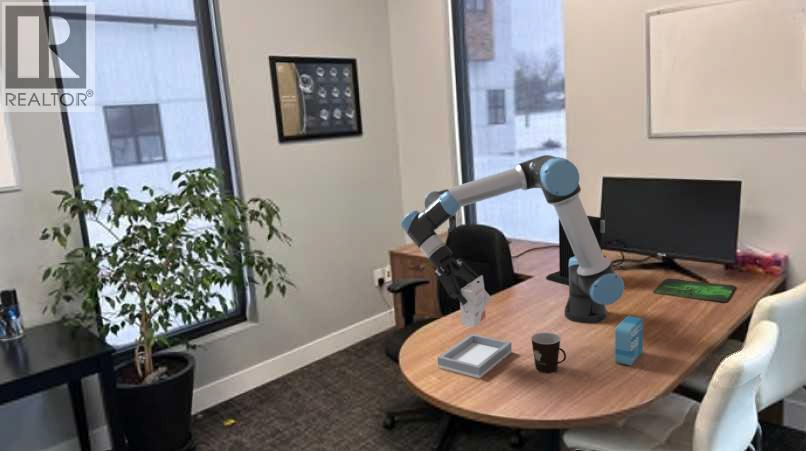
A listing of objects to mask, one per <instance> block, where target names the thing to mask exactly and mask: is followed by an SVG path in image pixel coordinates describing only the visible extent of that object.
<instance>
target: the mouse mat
mask: <svg viewBox="0 0 806 451" xmlns="http://www.w3.org/2000/svg"><path fill="white" fill-rule="evenodd" d="M736 288H737V287H736V285H733V284H732V285H731V284H722V283H721V284H720V283H712V282H705V281H704V282H702V281H696V280H685V279H678V278H665V279H664V280H663V281H662V282H661V283H659V285H658V286H657V287H656V288H655V289H654V290H653V292H652V293H653V294H657V295H662V296H668V297H670V296H671V297H677V298H685V299H692V300H698V301H705V302H715V303H722V304H726V303H728V302H729V301H730V299H731V298H732V295H733V294H734V292H735V290H736Z"/></svg>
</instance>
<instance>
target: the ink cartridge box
mask: <svg viewBox="0 0 806 451" xmlns="http://www.w3.org/2000/svg"><path fill="white" fill-rule="evenodd" d="M479 276H480V277H478V278H476V279H475V280H474V281H472V282H471V283H467V284H466V285H465V286H464V287H462V288H460V290H461V293H462V292H464V293H465V294H466V295H467V296H468V298H469V299H470V300H471V301H472V303H473V304H474V305H475V306H476V307H477V309H476V310H475V311H474V312H473V313H471V314H470V312H469V311H468V310H467V309H466V307H465V306H464V305H463V304H462V303H461V302H460V301H459V305H460V306H459V307H460V309H459V310H460V321H461V322H460V323H461V326H465V327H472V328H476V327H477V326H478V325H479V324H480V323H481V322H482V321H484V320H485V319H486V303H485V295H484V289H485V283H484V282H485V281H484V276H483V274H482V275H479ZM477 281H479V283H477Z"/></svg>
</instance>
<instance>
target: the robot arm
mask: <svg viewBox="0 0 806 451" xmlns="http://www.w3.org/2000/svg"><path fill="white" fill-rule="evenodd" d="M579 183H580V173H579V169H578V168H577V166H576V165H575V164H574V163H573V162H571V161H570V160H569V159H566V158H564V157H557V156H554V155H550V154H548V155H546V154H545V155H541V156H537V157H534V158H531V159H529V160H526V161H523V162H520V163H517V164H516V165H515V167H514V168H510V169H508V170H504V171H501V172H497V173H495V174H492V175H488V176H484V177H481V178H478V179H475V180H474V179H473V180H472V181H468V182H465V183H462V184H458V185H456V186H452V187H449V188H445V189H443V190H440V191H437V190H434V191H433V190H432V191H430V192H428V193H427V194H426V195H425V197H424V200H423V203H424V208H425V209H423V210H422V211H420V212H419V211H418V210H415V209H414V210H411V211H410V212H409V213H407V214H406V215H404V217H403V218H402V219H401V221H400V225H401V227H402V229H403V230H404V231H405V233H406V234H407V236H408V237H409V239H411V240H412V241H413V243H414V244H415V245H416V247H418V249H420V251H421V253H422V254H424V256H425V257H426V259H428V262H429V263H430V264H431V265H432V266H433V267H434V268H435V269H436V268H437V269H436V270H435V272H434V275H435V276H436V277H437V278H438V280H439V281H440V282H441V284H442V286H443V288H444V289H445V291H446V293H447V295H448V296H449V297H450V298H451V299H454V300H455V299H456V298H457V300H458V301H459V303H460V302H461V303H462V304H463V305H464V306H465V307H466V309H467V310H468V311H469V312H470V314H471V313H473V312H474V311H475V310H476V309H477V307H476V306H475V305H474V304H473V303H472V301H471V300H470V299H469V298H468V296H467V295H466V294H465V293H464V292H462V293H461V290H460V289H461V288H460V285H459V283H458V280H457V278H456V277H460V279H462V280H463V281H466V283H467V284H469V283H471V282H472V281H474V280H475V279H477V278H478V277H480V276H481V275H479V274H478V273H476V271H475V270H473V269H472V268H471V267H470V266H469V265H467V263H466V261H464V259H463V258H462V257H459V258H458V259H455V258H454V257H453V251H452V250H451V249H450V248H449V246H448V245H445V241H444V240H443V239H442V237H440V235H439V234H438V233H437V232H436V230H438V228H439V227H441V226H442V225H443V224H444V223H445V222H447V221H448V220H449V219H450V218H451V217H453V216H455V214H457V213H458V212H459V210H460V209H461V208H462V207H465V206H469V205H472V204H474V203H477V202H482V201H485V200H487V199H488V200H489V199H492V198H494V197H499V196H501V195H505V194H507V193H510V192H514V191H517V190H523V191H528V190H531V189H540V190H541V191H542V194H543V196H544V198H545V201H546V202H547V204H549V205H552V206H553V207H554V209H555V212H556V214H557V216H558V220H559V219H560V221H561V224H562V226H563V229H564V231H565V233H566V236H567V238H568V240H569V243H570V245H571V247H572V250H573V252H574V254H575V256H574V257H571V258H570V259H569V266H568V267H569V285H568V290H569V291H568V294H569V295H568V298H567V301H566V303H565V307H564V317H565V318H566V319H568V320H570V321H573V322H577V323H582V324H584V323H589V324H592V323H599V322H602V321H604V320H606V319H607V318H608V311H607V310H608V309H607V307H606V306H609V305H612V304H614V303H616V302H618V301H619V300H620V299H621V297H622V295H623V293H624V292H625V282H624V281H623V278H622V277H621V276H620V275H619V274H617V273H616V272H615V269H614V267H613V264H612V260H611V259H610V258H608V257H607V256H606V257H607V258H606V257H604V256H605V255H604V253H603V250H602V251H601V249H602V248H601V249H600V247H599V244H598V242H597V239H596V237H595V234H594V232H593V230H592V227H591V225H590V222H589V220H588V218H587V216H588V215H587V213H586V211H585V208H584V206H583V203H582V201H581V198H580V193H581V192H582V187H581V186H580V184H579ZM477 283H479V281H477ZM484 295H485V305H488V304H489V303H490V302H491V301H492V300H493V297H491V296H490V294H489V293H488V292H487V291H486V289H485V288H484Z"/></svg>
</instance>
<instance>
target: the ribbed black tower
mask: <svg viewBox="0 0 806 451" xmlns="http://www.w3.org/2000/svg"><path fill="white" fill-rule="evenodd" d="M587 218H588V220H589V222H590V225H591V227H592V230H593V232H594V234H595V237H596V239H597V242H598V244H599V247H600V249H601V251H602V252H603V250H602V247H601V246H602V242H601V241H602V238H601V237H602V236H601V235H602V234H605V233H606V220H605V219H604V220H603V219H602V217H601V216H600V217H599V216H592V215H587ZM558 251H559V255H558V256H559V258H558V260H559V262H558V263H559V265H558V266H559V268H558V269H559V270H558V271H555V272H553V273H552V272H551V273H549V274H548V275H547V276H545V279H546V280H548V281H551V282H555V283H557V284H558V283H559V284H562V285H565V286H569V267H568V266H569V259H570V258H571V257H574V256H575V254H574V252H573V250H572V247H571V245H570V243H569V240H568V238H567V236H566V233H565V231H564V229H563V226H562V224H561V221H560V219H559V218H558ZM603 256H604V257H606V258H608V257H607V256H606V255H603Z"/></svg>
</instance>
